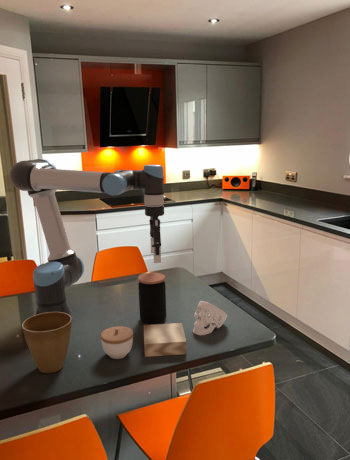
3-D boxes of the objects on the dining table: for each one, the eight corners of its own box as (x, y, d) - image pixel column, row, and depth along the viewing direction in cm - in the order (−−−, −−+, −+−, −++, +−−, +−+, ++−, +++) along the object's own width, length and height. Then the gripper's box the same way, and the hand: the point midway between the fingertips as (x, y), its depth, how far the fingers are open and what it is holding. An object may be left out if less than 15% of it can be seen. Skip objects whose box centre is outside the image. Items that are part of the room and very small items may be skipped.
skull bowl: (181, 328, 151) (193, 297, 153) (203, 335, 160) (213, 306, 162) (202, 337, 143) (214, 304, 145) (223, 344, 153) (234, 313, 155)
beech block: (144, 357, 134) (144, 344, 133) (144, 337, 148) (143, 325, 147) (186, 354, 135) (186, 341, 134) (182, 335, 149) (181, 322, 148)
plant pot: (78, 374, 125) (73, 326, 121) (27, 384, 120) (21, 335, 117) (73, 351, 139) (69, 308, 135) (27, 359, 134) (22, 315, 130)
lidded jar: (97, 361, 132) (95, 335, 130) (108, 345, 142) (106, 320, 140) (129, 363, 130) (127, 337, 128) (137, 347, 140) (136, 322, 138)
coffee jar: (170, 315, 165) (169, 273, 161) (160, 327, 155) (159, 283, 151) (146, 312, 168) (144, 271, 164) (135, 323, 158) (133, 280, 154)
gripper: (168, 210, 144) (169, 266, 149) (160, 200, 168) (161, 248, 173) (147, 211, 143) (148, 267, 148) (142, 200, 167) (144, 249, 172)
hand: (155, 257), depth 161 cm, fingers open, 13 cm apart
